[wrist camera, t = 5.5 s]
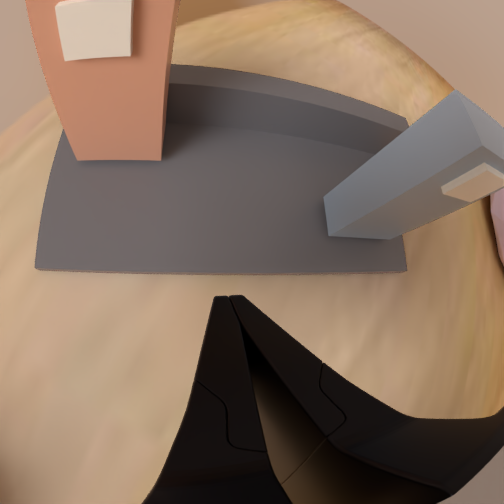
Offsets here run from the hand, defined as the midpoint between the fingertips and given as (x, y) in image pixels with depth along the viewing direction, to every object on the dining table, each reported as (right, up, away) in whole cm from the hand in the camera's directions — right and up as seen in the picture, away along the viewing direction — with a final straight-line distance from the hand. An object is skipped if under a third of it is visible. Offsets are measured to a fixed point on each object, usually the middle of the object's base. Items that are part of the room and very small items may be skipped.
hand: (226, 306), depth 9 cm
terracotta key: (-8, +9, +9) cm, 15 cm away
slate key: (+9, +4, +13) cm, 16 cm away
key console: (0, +6, +12) cm, 14 cm away
